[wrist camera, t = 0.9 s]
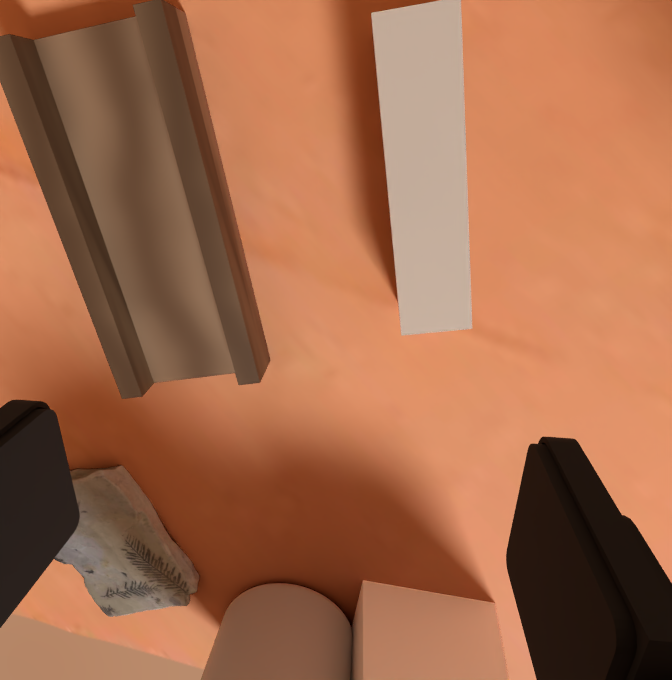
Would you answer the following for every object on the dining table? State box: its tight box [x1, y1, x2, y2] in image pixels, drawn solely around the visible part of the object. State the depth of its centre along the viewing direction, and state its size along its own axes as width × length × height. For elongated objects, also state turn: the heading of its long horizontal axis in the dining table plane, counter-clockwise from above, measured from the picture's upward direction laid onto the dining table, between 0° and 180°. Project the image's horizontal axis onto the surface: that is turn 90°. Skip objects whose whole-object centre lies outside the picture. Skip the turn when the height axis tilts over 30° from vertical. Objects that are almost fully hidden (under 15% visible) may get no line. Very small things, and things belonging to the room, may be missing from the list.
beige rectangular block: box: [371, 0, 472, 335], centre depth 28 cm, size 4×16×6 cm, turn 8°
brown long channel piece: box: [0, 0, 270, 399], centre depth 31 cm, size 10×22×4 cm, turn 10°
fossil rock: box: [54, 465, 199, 617], centre depth 45 cm, size 18×15×2 cm
